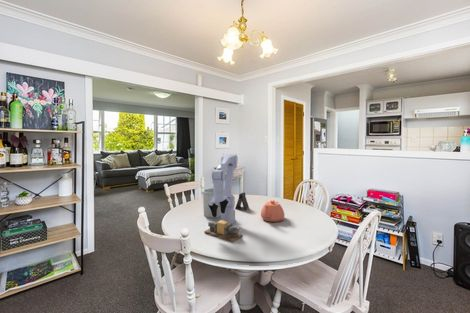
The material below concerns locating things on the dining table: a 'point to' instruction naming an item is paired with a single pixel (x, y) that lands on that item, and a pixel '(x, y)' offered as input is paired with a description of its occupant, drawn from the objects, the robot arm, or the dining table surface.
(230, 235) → the shaft stand
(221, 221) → the coupler block
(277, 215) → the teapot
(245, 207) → the black a-shaped stand
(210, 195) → the utensil holder
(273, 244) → the dining table surface
